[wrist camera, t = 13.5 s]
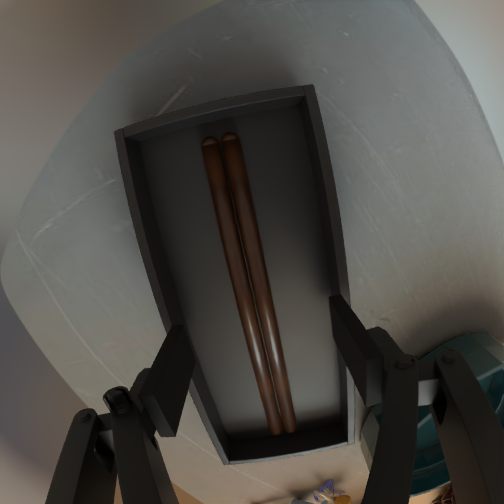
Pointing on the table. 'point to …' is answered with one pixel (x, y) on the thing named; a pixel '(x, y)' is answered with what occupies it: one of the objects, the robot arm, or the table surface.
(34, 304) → the table surface
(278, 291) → the tray
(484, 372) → the bowl
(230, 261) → the chopsticks
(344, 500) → the fairy figurine
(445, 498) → the figurine
